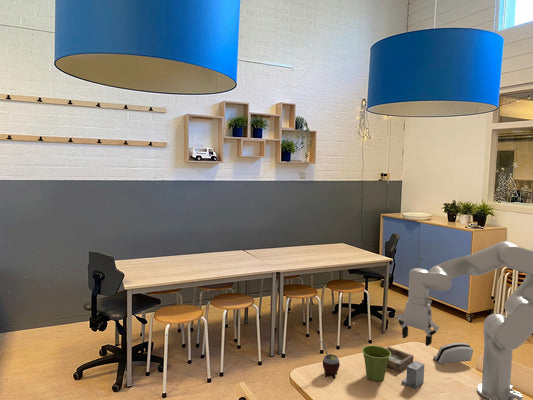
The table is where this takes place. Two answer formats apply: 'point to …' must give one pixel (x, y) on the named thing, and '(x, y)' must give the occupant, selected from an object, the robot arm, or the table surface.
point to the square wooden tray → (398, 360)
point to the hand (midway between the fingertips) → (416, 340)
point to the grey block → (414, 375)
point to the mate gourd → (330, 364)
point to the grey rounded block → (454, 353)
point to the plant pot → (376, 361)
